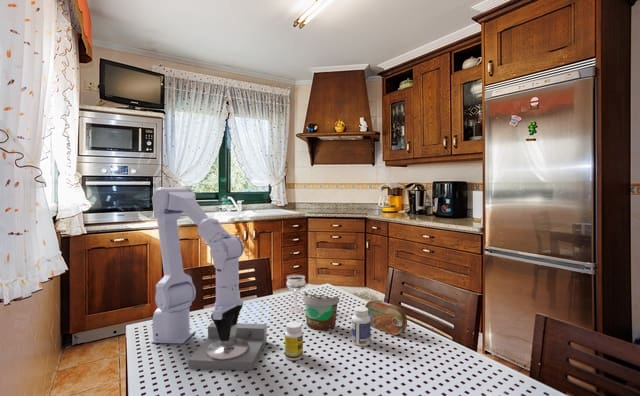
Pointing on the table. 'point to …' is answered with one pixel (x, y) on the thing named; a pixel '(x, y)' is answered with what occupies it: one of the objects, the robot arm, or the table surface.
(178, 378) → the table surface
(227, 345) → the cylinder
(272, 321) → the table surface
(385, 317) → the tin
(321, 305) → the food container
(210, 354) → the pan
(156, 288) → the robot arm
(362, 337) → the pill bottle
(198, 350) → the scale
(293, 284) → the wineglass
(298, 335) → the supplement bottle
